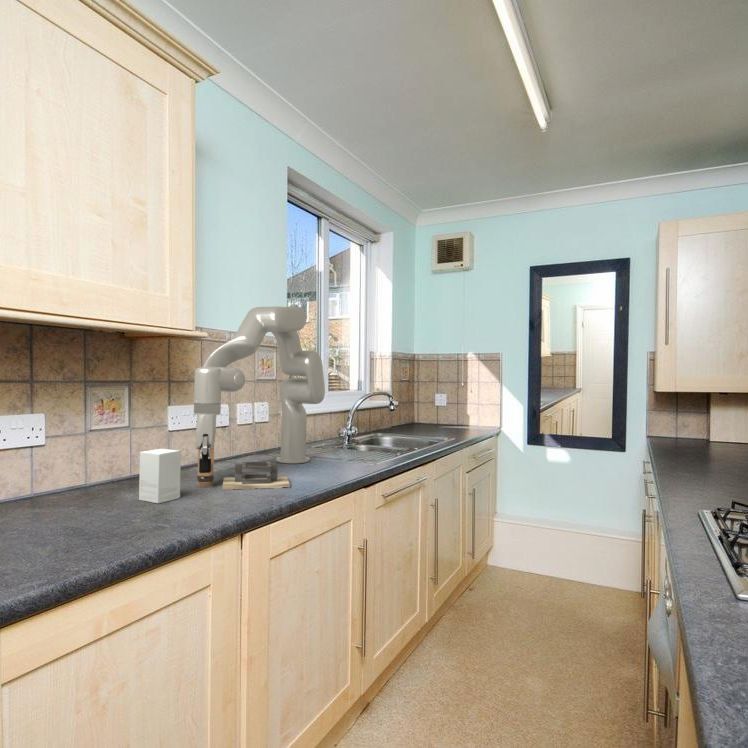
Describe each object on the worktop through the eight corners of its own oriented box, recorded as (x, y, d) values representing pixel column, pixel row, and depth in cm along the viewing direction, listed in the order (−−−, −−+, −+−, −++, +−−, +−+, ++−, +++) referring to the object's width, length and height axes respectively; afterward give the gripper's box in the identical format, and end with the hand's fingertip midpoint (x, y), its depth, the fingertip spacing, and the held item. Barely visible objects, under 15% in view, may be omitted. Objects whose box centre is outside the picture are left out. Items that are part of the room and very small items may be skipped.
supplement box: (181, 498, 133) (182, 450, 133) (157, 504, 126) (158, 454, 126) (161, 494, 136) (162, 447, 136) (137, 500, 130) (138, 451, 130)
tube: (197, 484, 149) (198, 443, 149) (214, 483, 150) (215, 443, 150) (196, 487, 145) (197, 446, 145) (213, 487, 146) (214, 445, 146)
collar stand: (223, 480, 155) (224, 461, 155) (285, 478, 160) (286, 459, 160) (222, 490, 143) (222, 469, 143) (290, 487, 148) (290, 467, 148)
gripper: (196, 407, 155) (194, 465, 155) (191, 411, 138) (189, 476, 138) (221, 407, 157) (220, 464, 157) (219, 411, 140) (217, 475, 140)
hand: (205, 469), depth 148 cm, fingers open, 6 cm apart
